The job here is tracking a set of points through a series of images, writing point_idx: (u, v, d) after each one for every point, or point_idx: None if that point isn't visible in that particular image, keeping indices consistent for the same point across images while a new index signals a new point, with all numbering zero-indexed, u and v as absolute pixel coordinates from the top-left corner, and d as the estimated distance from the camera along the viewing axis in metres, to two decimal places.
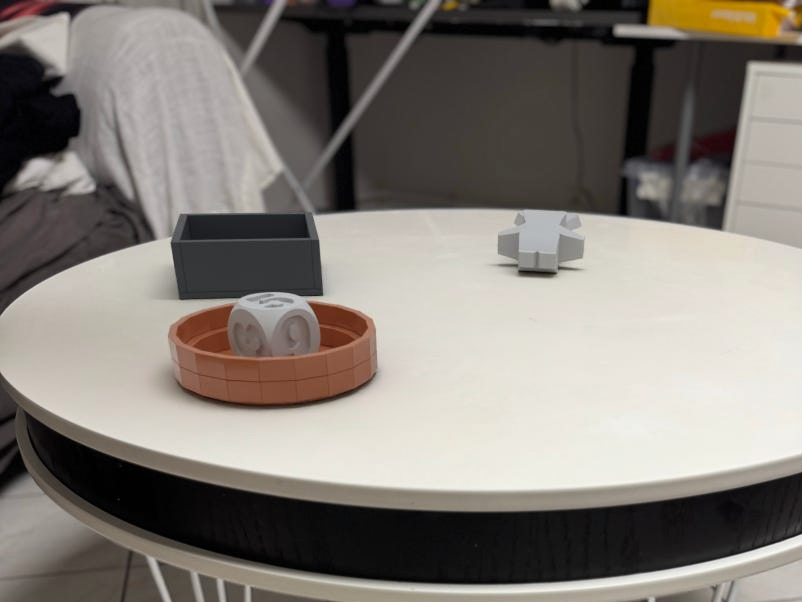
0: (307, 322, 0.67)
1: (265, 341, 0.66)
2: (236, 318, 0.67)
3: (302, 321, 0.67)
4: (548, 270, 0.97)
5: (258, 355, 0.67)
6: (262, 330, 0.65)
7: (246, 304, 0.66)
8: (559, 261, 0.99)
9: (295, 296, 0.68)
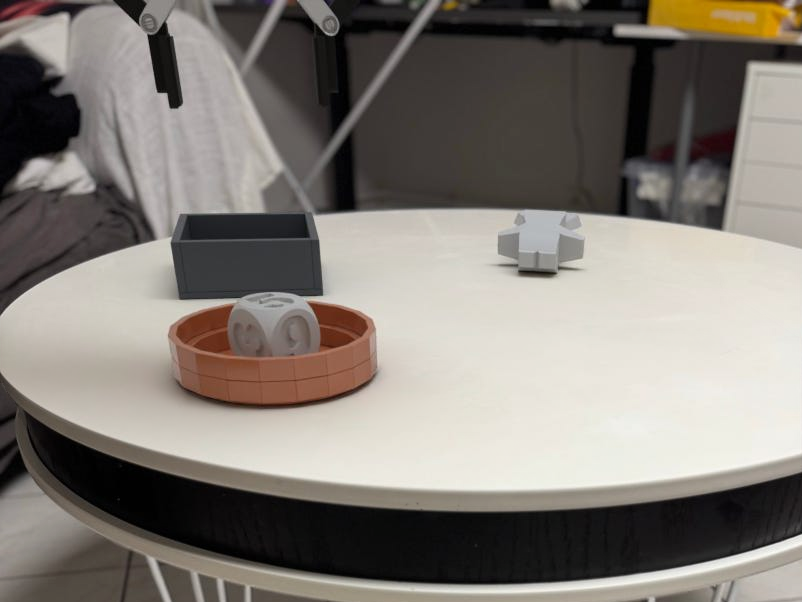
0: (307, 322, 0.67)
1: (265, 341, 0.66)
2: (236, 318, 0.67)
3: (302, 321, 0.67)
4: (548, 270, 0.97)
5: (258, 355, 0.67)
6: (262, 330, 0.65)
7: (246, 304, 0.66)
8: (559, 261, 0.99)
9: (295, 296, 0.68)
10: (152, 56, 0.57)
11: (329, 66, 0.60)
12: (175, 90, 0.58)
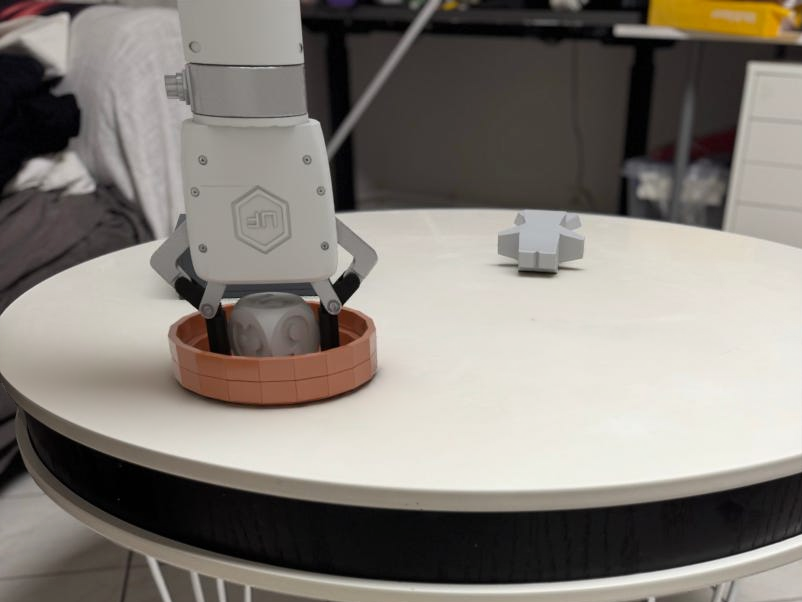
0: (307, 322, 0.67)
1: (265, 341, 0.66)
2: (236, 318, 0.67)
3: (302, 321, 0.67)
4: (548, 270, 0.97)
5: (258, 355, 0.67)
6: (262, 330, 0.65)
7: (246, 304, 0.66)
8: (559, 261, 0.99)
9: (295, 296, 0.68)
10: (208, 332, 0.67)
11: (332, 335, 0.69)
12: None
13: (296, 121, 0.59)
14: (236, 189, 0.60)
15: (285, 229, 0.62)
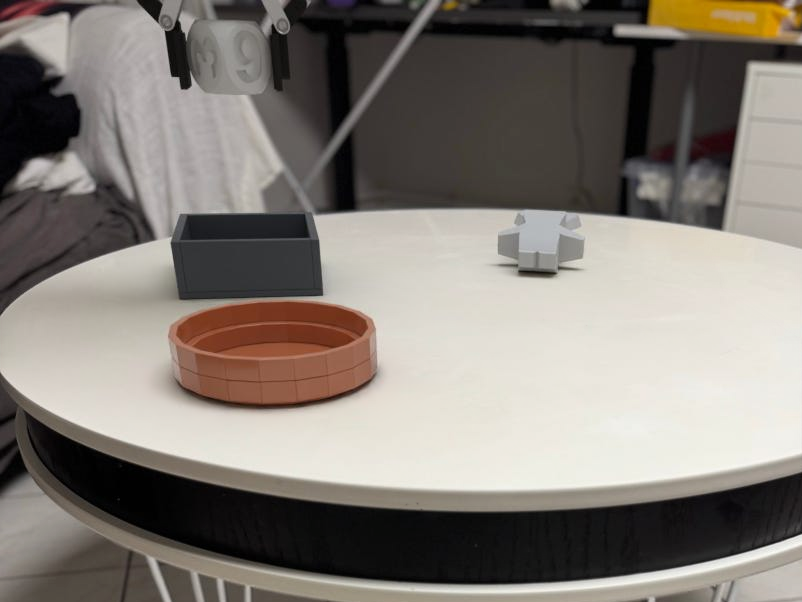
0: (259, 42, 0.74)
1: (218, 51, 0.72)
2: (193, 34, 0.73)
3: (254, 40, 0.74)
4: (548, 270, 0.97)
5: (213, 70, 0.73)
6: (216, 40, 0.72)
7: None
8: (559, 261, 0.99)
9: None
10: (168, 48, 0.73)
11: (282, 58, 0.75)
12: (185, 75, 0.74)
13: None
14: None
15: None
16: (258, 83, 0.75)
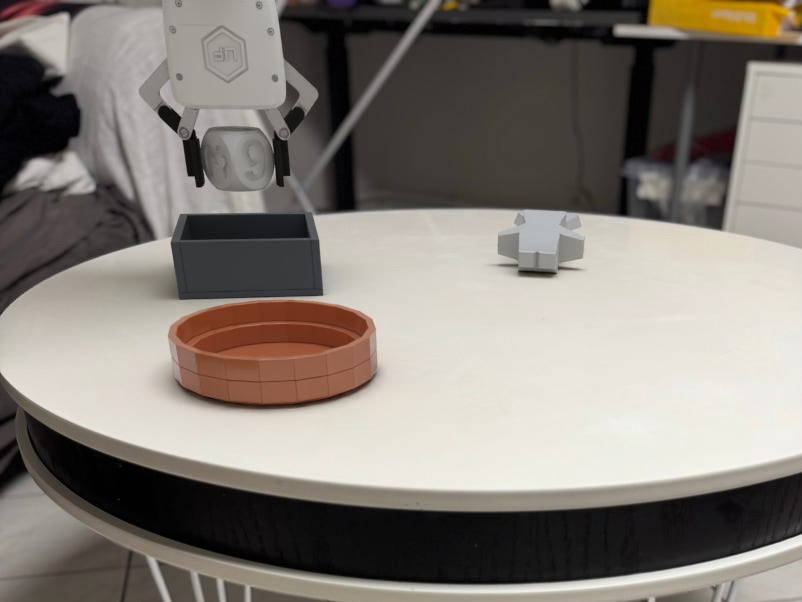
0: (263, 147, 0.86)
1: (229, 157, 0.84)
2: (206, 141, 0.85)
3: (259, 145, 0.85)
4: (548, 270, 0.97)
5: (224, 172, 0.85)
6: (227, 148, 0.83)
7: (214, 129, 0.84)
8: (559, 261, 0.99)
9: (254, 127, 0.86)
10: (185, 153, 0.85)
11: (284, 159, 0.87)
12: (200, 176, 0.85)
13: None
14: (204, 27, 0.78)
15: (243, 62, 0.80)
16: (263, 180, 0.87)
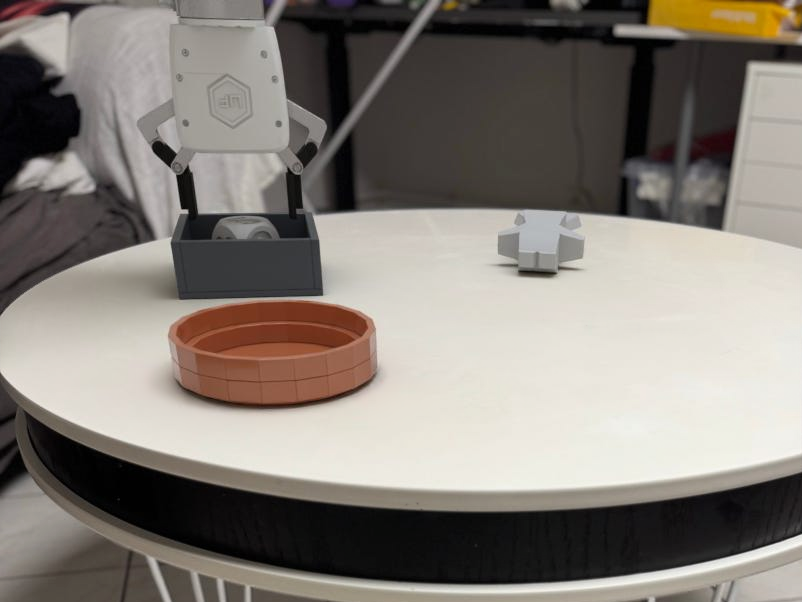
0: (271, 237, 0.90)
1: None
2: (217, 233, 0.89)
3: (267, 236, 0.90)
4: (548, 270, 0.97)
5: None
6: None
7: (225, 222, 0.89)
8: (559, 261, 0.99)
9: (262, 218, 0.91)
10: (178, 187, 0.86)
11: (296, 193, 0.89)
12: (193, 209, 0.87)
13: (255, 24, 0.79)
14: (210, 76, 0.80)
15: (248, 109, 0.82)
16: None
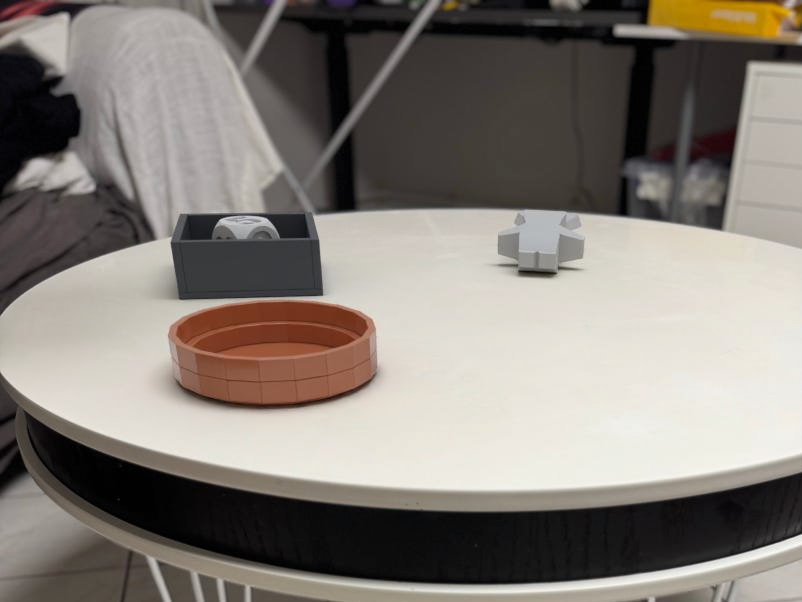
0: (271, 237, 0.90)
1: None
2: (217, 233, 0.89)
3: (267, 236, 0.90)
4: (548, 270, 0.97)
5: None
6: None
7: (225, 222, 0.89)
8: (559, 261, 0.99)
9: (262, 218, 0.91)
10: None
11: None
12: None
13: None
14: None
15: None
16: None
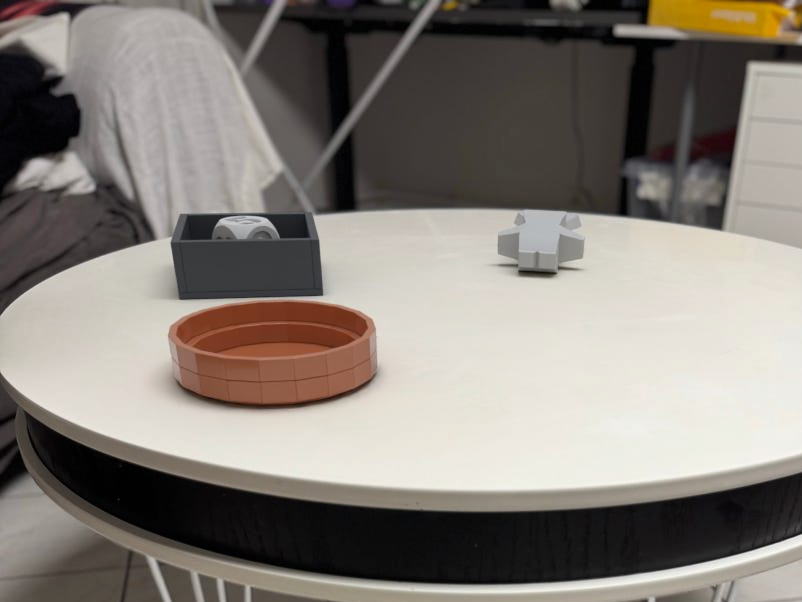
0: (271, 237, 0.90)
1: None
2: (217, 233, 0.89)
3: (267, 236, 0.90)
4: (548, 270, 0.97)
5: None
6: None
7: (225, 222, 0.89)
8: (559, 261, 0.99)
9: (262, 218, 0.91)
10: None
11: None
12: None
13: None
14: None
15: None
16: None
